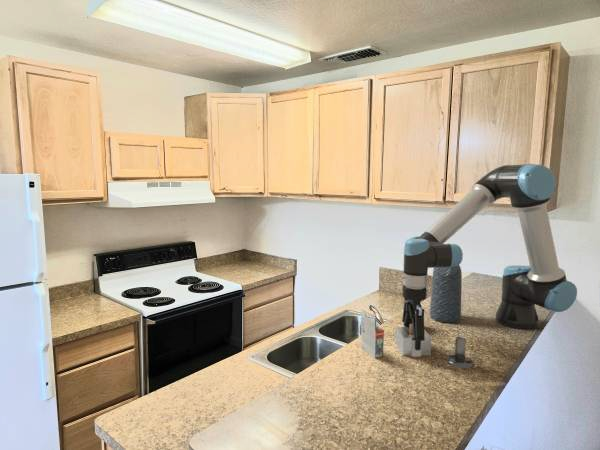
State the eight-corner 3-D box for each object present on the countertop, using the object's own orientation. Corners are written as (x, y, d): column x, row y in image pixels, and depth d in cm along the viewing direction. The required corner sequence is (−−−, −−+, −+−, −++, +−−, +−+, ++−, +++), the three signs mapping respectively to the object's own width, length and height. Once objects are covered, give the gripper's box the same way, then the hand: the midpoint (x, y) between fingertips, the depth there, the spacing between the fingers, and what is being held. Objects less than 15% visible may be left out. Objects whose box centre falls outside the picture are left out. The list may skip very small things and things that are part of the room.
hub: (466, 359, 122) (467, 333, 121) (477, 371, 115) (478, 344, 114) (442, 359, 122) (443, 334, 121) (452, 371, 115) (453, 344, 114)
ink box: (369, 349, 130) (370, 307, 128) (383, 359, 123) (385, 315, 121) (360, 351, 128) (361, 309, 126) (374, 361, 121) (375, 317, 119)
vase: (431, 311, 166) (434, 247, 163) (461, 315, 161) (464, 249, 158) (427, 320, 156) (430, 252, 152) (460, 325, 150) (463, 255, 147)
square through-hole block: (421, 343, 132) (422, 326, 131) (430, 355, 123) (431, 337, 122) (395, 343, 132) (396, 326, 131) (402, 355, 123) (403, 337, 122)
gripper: (394, 277, 135) (392, 337, 138) (413, 296, 114) (410, 367, 117) (415, 277, 135) (413, 337, 138) (438, 296, 114) (434, 367, 117)
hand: (411, 351), depth 127 cm, fingers closed on square through-hole block, 9 cm apart
